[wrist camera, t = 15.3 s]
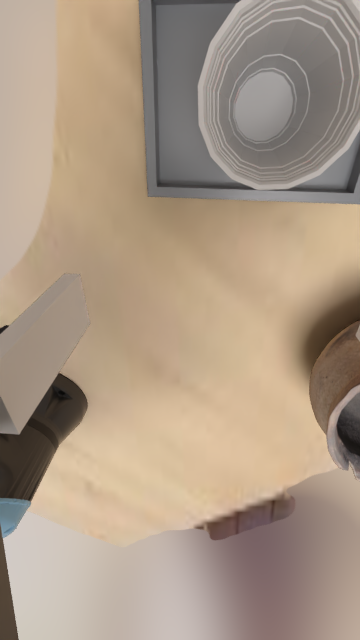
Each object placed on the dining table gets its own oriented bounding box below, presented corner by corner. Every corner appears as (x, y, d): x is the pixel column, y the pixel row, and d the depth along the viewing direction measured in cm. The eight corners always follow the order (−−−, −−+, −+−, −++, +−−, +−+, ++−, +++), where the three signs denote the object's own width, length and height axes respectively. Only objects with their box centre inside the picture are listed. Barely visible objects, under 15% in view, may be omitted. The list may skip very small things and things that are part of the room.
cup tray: (153, 191, 34) (147, 196, 32) (145, -8, 25) (137, -22, 23) (349, 198, 32) (360, 204, 30) (416, -15, 23) (439, -32, 21)
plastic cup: (216, 20, 25) (214, -50, 15) (342, 39, 25) (423, -19, 15) (195, 162, 31) (184, 178, 21) (296, 178, 31) (333, 203, 21)
